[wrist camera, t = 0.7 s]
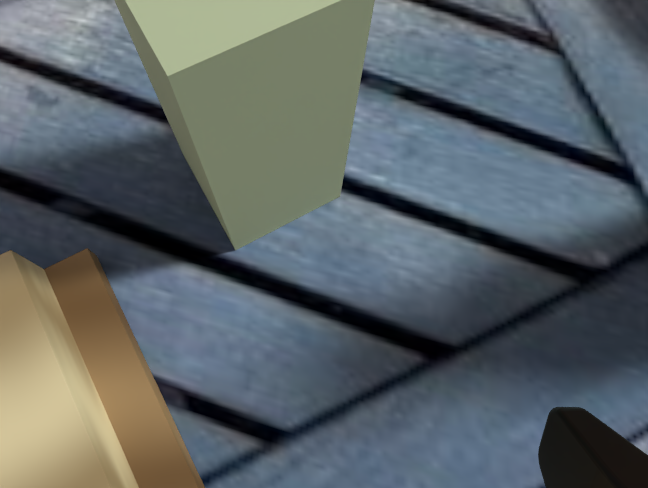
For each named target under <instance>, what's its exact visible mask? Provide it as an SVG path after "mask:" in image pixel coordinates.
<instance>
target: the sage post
mask: <svg viewBox="0 0 648 488" xmlns="http://www.w3.org/2000/svg"><path fill="white" fill-rule="evenodd" d="M374 1H375V0H115V2H116V5H117V7H118V9H119V11H120V14H121V16H122V18H123V20H124V23H125V25H126V27H127V29H128V32H129V34H130V36H131V38H132V41H133V43H134V45H135V47H136V50H137V52H138V54H139V56H140V59H141V61H142V63H143V65H144V68H145V70H146V72H147V74H148V77H149V79H150V81H151V83H152V86H153V88H154V90H155V92H156V95H157V97H158V99H159V101H160V104H161V106H162V108H163V110H164V113H165V115H166V117H167V119H168V122H169V124H170V126H171V128H172V130H173V133H174V135H175V137H176V139H177V142H178V144H179V146H180V148H181V151H182V153H183V155H184V157H185V159H186V161H187V162H188V164H189V166H190V168H191V170H192V172H193V173H194V175H195V177H196V179H197V181H198V183H199V184H200V186H201V188H202V190H203V192H204V194H205V196H206V197H207V199H208V201H209V203H210V205H211V207H212V208H213V210H214V212H215V214H216V216H217V218H218V219H219V221H220V223H221V225H222V227H223V229H224V230H225V232H226V234H227V236H228V238H229V240H230V242H231V243H232V245H233V247H234V249H235V250H237V249H239V248H241V247H243V246H245V245H247V244H249V243H251V242H253V241H254V240H256V239H258V238H260V237H262V236H264V235H266V234H268V233H270V232H272V231H274V230H276V229H278V228H280V227H282V226H284V225H286V224H287V223H289V222H291V221H293V220H295V219H297V218H299V217H301V216H303V215H305V214H307V213H309V212H311V211H313V210H315V209H317V208H319V207H320V206H322V205H324V204H326V203H328V202H330V201H332V200H334V199H336V198H338V197H340V193H341V188H342V182H343V176H344V171H345V165H346V159H347V154H348V148H349V143H350V137H351V131H352V126H353V120H354V114H355V109H356V103H357V97H358V92H359V86H360V80H361V75H362V69H363V63H364V58H365V52H366V46H367V41H368V35H369V29H370V24H371V18H372V12H373V7H374Z"/></svg>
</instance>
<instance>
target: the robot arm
mask: <svg viewBox="0 0 648 488" xmlns="http://www.w3.org/2000/svg"><path fill="white" fill-rule="evenodd" d="M538 457H539V465H540V469H541V472H542V476H543V479H544V483H545V486H546V488H648V455H647V454H645V453H644V452H643V451H641V450H640V449H638V448H637V447H636V446H634V445H633V444H632V443H630V442H629V441H628V440H626V439H625V438H623V437H622V436H621V435H619V434H618V433H617V432H615V431H614V430H613V429H611V428H610V427H608V426H607V425H606V424H604V423H603V422H602V421H600V420H599V419H598V418H596V417H595V416H593V415H592V414H591V413H589V412H588V411H586V410H585V409H583V408H579V407H556V408H553V409H552V410H551V411H550V413H549V415H548V418H547V422H546V425H545V429H544V432H543V436H542V439H541V442H540V446H539V453H538Z"/></svg>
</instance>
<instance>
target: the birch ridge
mask: <svg viewBox="0 0 648 488" xmlns="http://www.w3.org/2000/svg"><path fill="white" fill-rule="evenodd" d="M0 488H205V487H204V485H203V483H202V480H201V478H200V476H199V474H198V472H197V470H196V468H195V465H194V463H193V461H192V459H191V457H190V455H189V453H188V450H187V448H186V446H185V444H184V442H183V440H182V438H181V435H180V433H179V431H178V429H177V427H176V425H175V423H174V420H173V418H172V416H171V414H170V412H169V410H168V408H167V405H166V403H165V401H164V399H163V397H162V395H161V393H160V390H159V388H158V386H157V384H156V382H155V380H154V378H153V375H152V373H151V371H150V369H149V367H148V365H147V363H146V360H145V358H144V356H143V354H142V352H141V350H140V348H139V345H138V343H137V341H136V339H135V337H134V335H133V333H132V330H131V328H130V326H129V324H128V322H127V320H126V318H125V315H124V313H123V311H122V309H121V307H120V305H119V303H118V300H117V298H116V296H115V294H114V292H113V290H112V288H111V285H110V283H109V281H108V279H107V277H106V275H105V273H104V271H103V268H102V266H101V264H100V262H99V260H98V258H97V256H96V255H95V254H94V253H93V252H91V251H90V250H89V249H88V248H87V249H85V250H83V251H81V252H78V253H76V254H74V255H72V256H70V257H68V258H66V259H64V260H62V261H60V262H58V263H56V264H54V265H52V266H50V267H48V268H46V269H43V268H41V267H39V266H37V265H36V264H34V263H32V262H31V261H29V260H27V259H25V258H24V257H22V256H20V255H19V254H17V253H15V252H13V251H12V250H10V251H8V252H6V253H3V254H1V255H0Z"/></svg>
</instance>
